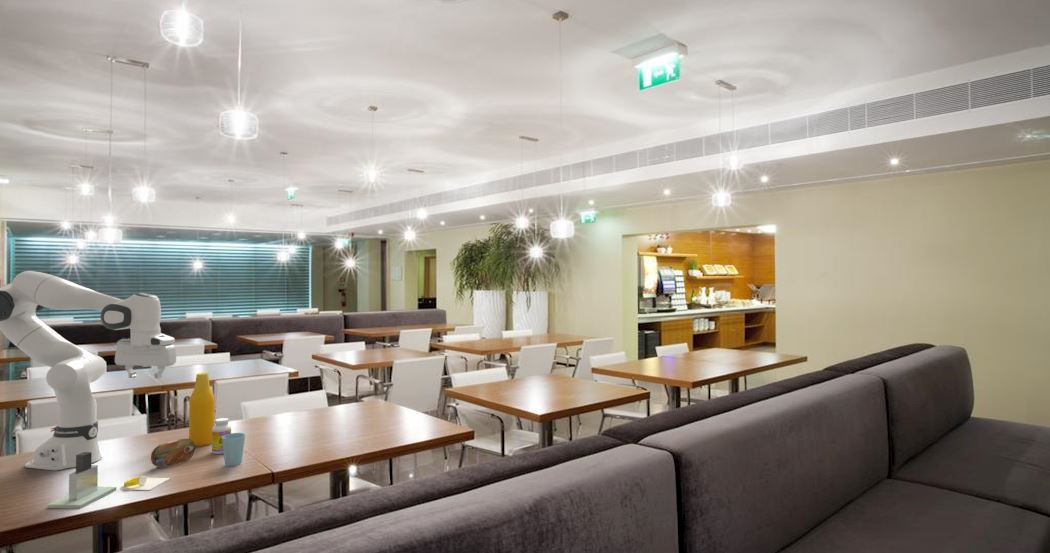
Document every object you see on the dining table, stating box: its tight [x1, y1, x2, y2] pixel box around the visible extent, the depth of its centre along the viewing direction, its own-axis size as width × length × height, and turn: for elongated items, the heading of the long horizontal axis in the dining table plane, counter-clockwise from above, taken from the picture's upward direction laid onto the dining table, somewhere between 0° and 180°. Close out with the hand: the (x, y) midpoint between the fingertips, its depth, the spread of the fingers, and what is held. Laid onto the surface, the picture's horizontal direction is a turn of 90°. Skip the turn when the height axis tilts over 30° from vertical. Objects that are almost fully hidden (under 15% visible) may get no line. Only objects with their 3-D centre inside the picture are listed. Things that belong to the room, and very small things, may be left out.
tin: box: [150, 438, 196, 469], centre depth 202 cm, size 15×3×8 cm, turn 154°
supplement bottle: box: [211, 417, 232, 455], centre depth 216 cm, size 7×7×13 cm
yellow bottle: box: [188, 372, 216, 448], centre depth 226 cm, size 9×9×29 cm
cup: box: [222, 432, 246, 467], centre depth 203 cm, size 8×8×10 cm
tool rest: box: [47, 486, 117, 509], centre depth 170 cm, size 10×14×1 cm
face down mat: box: [121, 477, 171, 492], centre depth 182 cm, size 9×10×1 cm
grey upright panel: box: [68, 452, 99, 501], centre depth 170 cm, size 2×8×13 cm, turn 179°
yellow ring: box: [123, 475, 147, 488], centre depth 181 cm, size 6×3×6 cm
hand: (145, 378), depth 193 cm, fingers open, 8 cm apart
